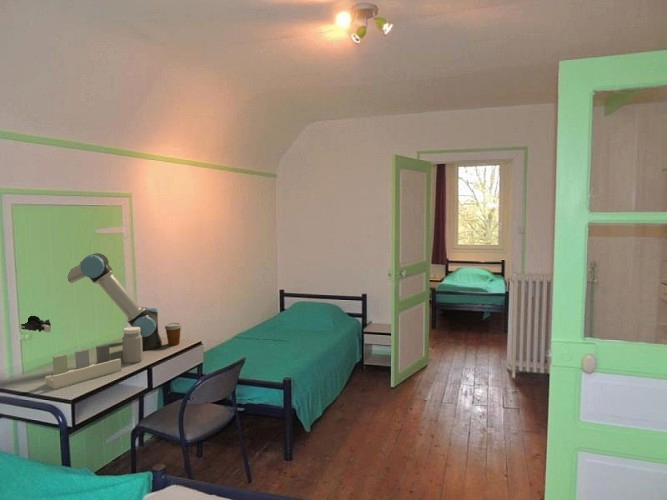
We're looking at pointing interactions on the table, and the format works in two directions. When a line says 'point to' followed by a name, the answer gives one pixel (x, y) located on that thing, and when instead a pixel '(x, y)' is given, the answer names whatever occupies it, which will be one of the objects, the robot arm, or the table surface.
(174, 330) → the disposable coffee cup
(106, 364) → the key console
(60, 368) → the key sage
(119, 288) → the robot arm
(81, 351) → the key slate
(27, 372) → the table surface
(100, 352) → the key charcoal
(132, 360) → the jar
